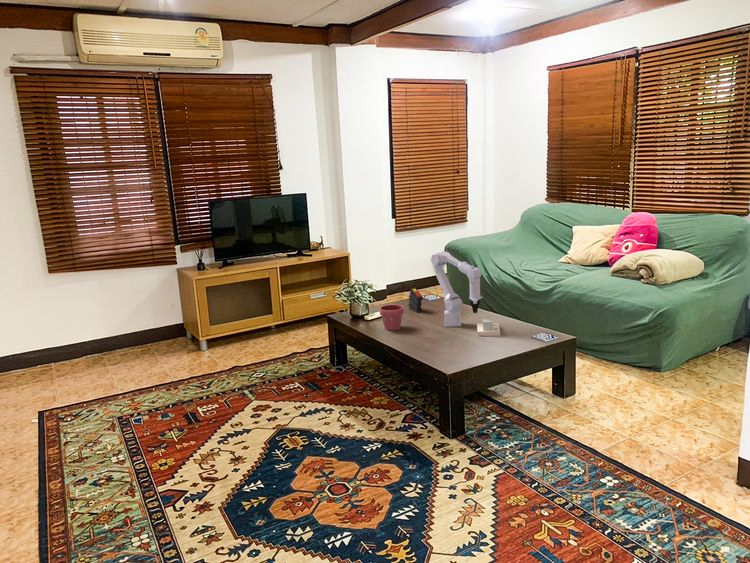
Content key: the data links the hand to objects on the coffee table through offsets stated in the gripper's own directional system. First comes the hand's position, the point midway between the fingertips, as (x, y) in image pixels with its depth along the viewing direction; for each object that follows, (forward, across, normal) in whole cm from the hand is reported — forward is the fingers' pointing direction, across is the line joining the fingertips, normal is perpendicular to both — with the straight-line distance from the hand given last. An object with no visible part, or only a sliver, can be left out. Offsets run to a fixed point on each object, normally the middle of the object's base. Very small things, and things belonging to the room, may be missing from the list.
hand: (475, 312), depth 321 cm
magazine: (+10, +39, +37) cm, 55 cm away
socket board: (+10, -4, -7) cm, 13 cm away
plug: (+9, -8, -7) cm, 14 cm away
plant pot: (+10, +3, +48) cm, 49 cm away
